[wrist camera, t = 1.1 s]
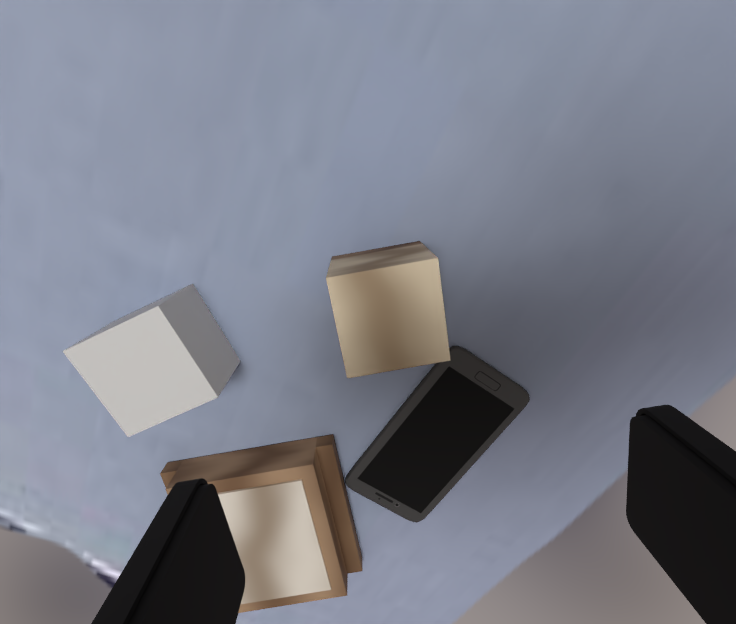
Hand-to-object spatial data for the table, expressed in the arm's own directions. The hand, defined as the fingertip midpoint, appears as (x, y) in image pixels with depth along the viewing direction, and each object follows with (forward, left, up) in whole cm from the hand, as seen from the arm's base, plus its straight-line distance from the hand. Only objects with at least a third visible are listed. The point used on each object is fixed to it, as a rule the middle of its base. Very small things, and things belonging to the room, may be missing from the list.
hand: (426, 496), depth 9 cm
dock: (+11, +16, -18) cm, 27 cm away
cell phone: (-2, +12, -19) cm, 23 cm away
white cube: (+14, +1, -18) cm, 23 cm away
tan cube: (0, 0, -18) cm, 18 cm away
